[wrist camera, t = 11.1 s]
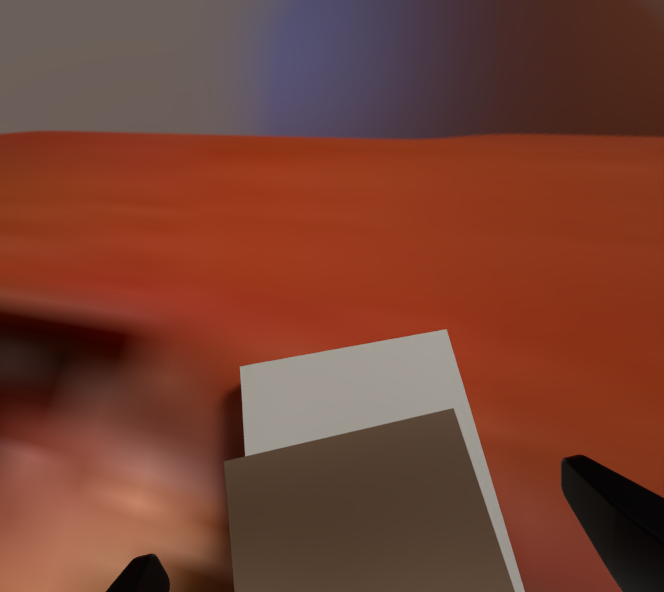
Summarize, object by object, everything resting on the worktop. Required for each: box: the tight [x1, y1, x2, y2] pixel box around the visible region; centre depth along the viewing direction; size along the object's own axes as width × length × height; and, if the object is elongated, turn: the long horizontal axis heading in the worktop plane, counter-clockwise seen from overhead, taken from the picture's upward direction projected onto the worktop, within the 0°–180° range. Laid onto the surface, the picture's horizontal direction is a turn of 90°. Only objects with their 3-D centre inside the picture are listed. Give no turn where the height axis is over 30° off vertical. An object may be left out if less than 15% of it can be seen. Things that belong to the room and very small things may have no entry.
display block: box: [240, 329, 525, 592], centre depth 16 cm, size 14×10×2 cm
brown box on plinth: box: [224, 408, 515, 592], centre depth 11 cm, size 6×6×10 cm
